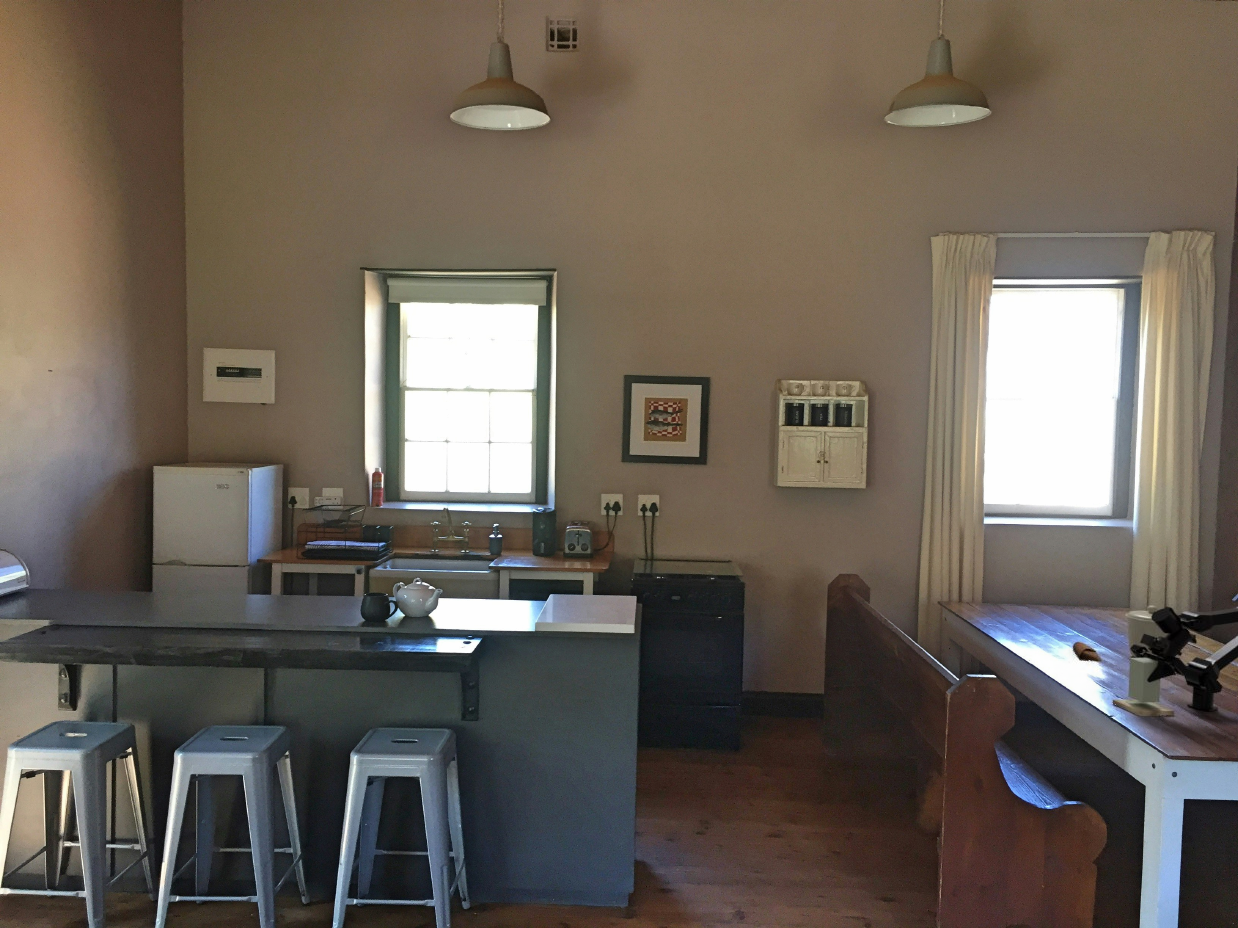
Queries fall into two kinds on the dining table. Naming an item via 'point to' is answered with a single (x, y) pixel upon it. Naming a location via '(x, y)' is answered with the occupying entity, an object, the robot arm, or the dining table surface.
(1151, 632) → the canister
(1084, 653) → the brown bread roll
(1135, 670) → the sage block
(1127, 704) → the birch slab
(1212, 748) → the dining table surface
